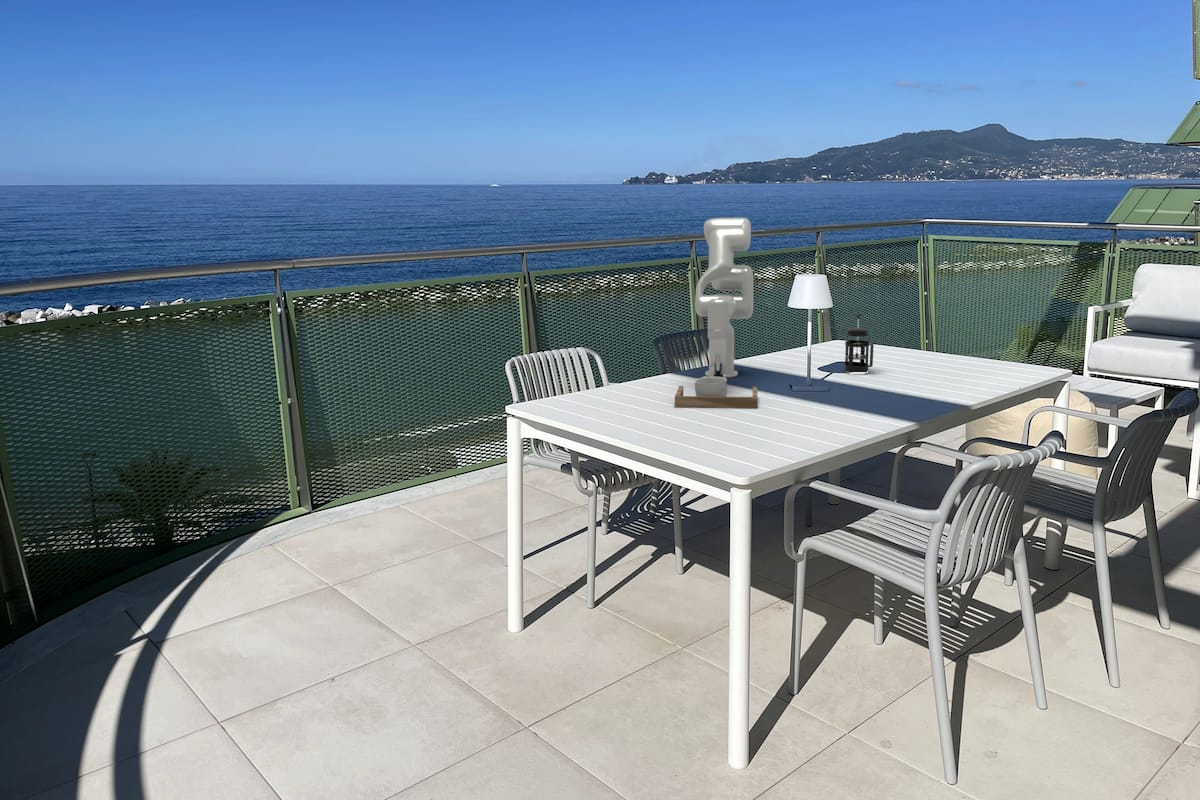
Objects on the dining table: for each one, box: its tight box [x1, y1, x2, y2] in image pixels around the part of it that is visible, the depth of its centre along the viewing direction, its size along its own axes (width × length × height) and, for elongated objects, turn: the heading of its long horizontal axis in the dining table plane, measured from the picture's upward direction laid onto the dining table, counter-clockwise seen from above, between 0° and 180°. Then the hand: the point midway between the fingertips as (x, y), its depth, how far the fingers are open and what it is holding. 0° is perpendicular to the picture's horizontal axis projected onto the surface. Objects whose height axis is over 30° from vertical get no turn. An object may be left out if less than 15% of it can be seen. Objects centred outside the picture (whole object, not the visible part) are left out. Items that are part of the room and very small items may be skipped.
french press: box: [843, 312, 874, 372], centre depth 331 cm, size 12×9×23 cm
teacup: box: [694, 375, 728, 397], centre depth 292 cm, size 14×11×8 cm
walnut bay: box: [674, 385, 759, 409], centre depth 292 cm, size 18×27×4 cm, turn 80°
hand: (718, 385), depth 305 cm, fingers closed
